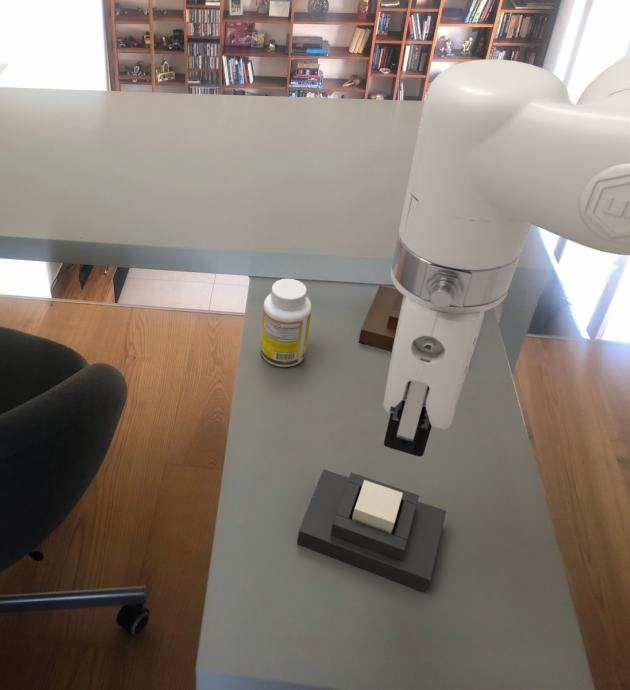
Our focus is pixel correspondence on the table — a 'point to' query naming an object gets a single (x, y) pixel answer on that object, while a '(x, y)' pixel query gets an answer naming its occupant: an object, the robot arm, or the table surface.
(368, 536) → the stepped wall plate
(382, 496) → the near key
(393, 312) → the brown stepped switch base
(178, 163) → the table surface
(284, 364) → the supplement bottle
